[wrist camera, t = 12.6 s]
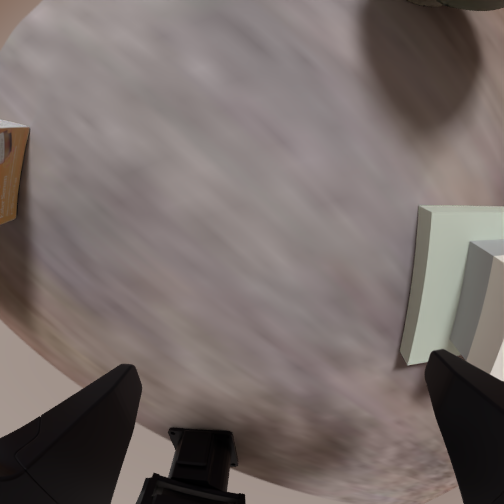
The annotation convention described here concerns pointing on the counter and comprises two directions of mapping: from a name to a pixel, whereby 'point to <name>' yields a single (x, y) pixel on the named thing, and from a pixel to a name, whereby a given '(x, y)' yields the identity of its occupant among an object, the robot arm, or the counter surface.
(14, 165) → the small box
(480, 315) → the block
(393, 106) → the counter surface
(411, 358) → the stand
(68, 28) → the counter surface
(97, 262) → the counter surface
